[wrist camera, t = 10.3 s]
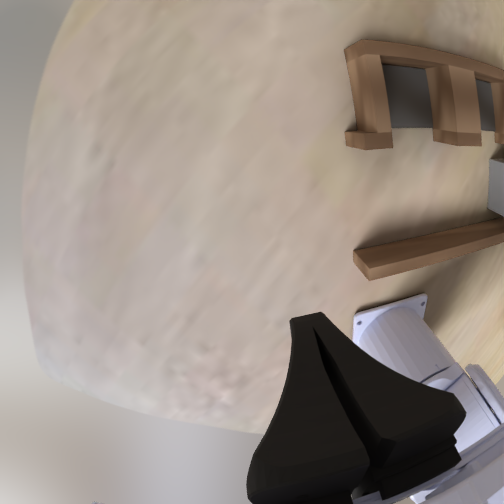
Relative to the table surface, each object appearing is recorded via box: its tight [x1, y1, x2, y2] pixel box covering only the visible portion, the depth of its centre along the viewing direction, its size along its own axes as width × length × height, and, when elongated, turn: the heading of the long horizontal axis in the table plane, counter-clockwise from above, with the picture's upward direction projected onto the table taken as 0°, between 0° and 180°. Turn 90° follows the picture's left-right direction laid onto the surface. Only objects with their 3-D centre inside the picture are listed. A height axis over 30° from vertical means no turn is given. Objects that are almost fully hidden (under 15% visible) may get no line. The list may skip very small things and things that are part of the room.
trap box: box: [344, 40, 504, 281], centre depth 17 cm, size 16×26×3 cm, turn 100°
